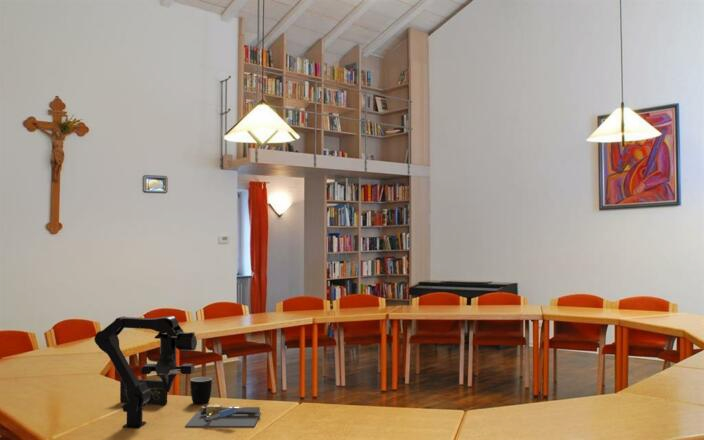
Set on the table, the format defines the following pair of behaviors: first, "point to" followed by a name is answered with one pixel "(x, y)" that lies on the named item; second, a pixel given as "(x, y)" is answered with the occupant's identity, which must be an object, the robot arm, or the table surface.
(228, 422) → the gray mounting plate
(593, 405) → the table surface
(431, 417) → the table surface
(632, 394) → the table surface
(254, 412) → the valve pipe
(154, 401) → the nameplate
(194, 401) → the mug
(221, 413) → the valve lever
